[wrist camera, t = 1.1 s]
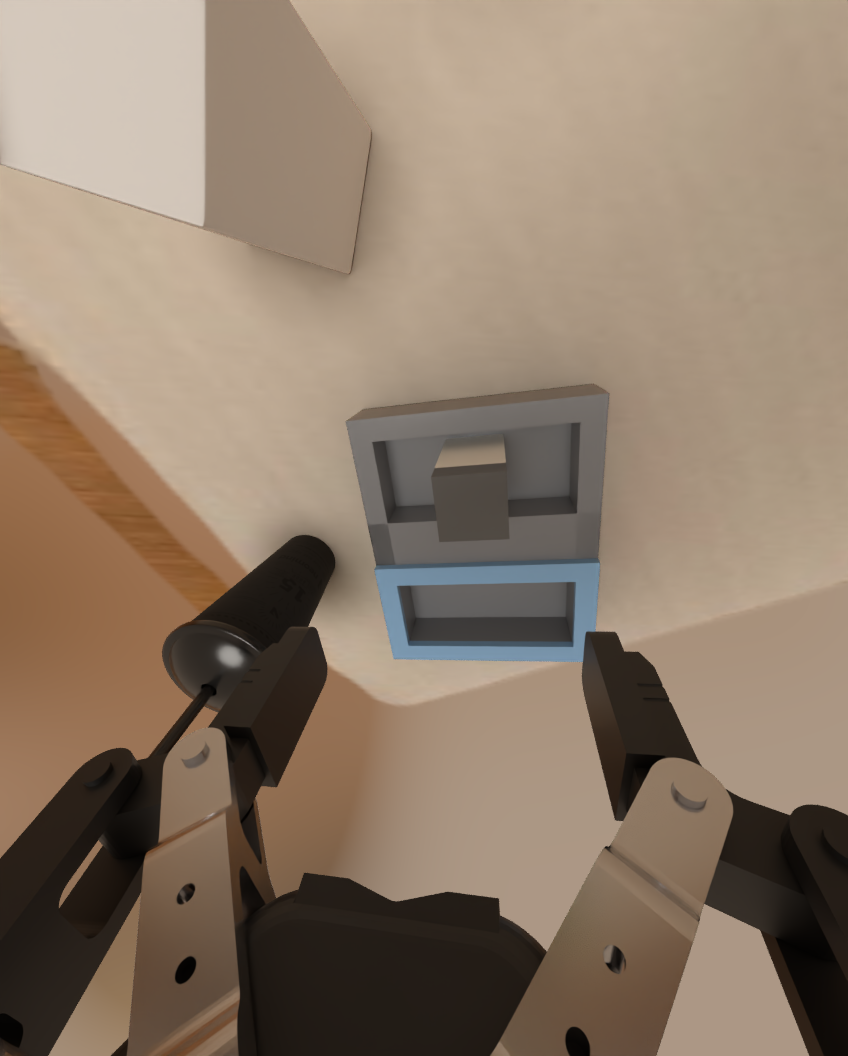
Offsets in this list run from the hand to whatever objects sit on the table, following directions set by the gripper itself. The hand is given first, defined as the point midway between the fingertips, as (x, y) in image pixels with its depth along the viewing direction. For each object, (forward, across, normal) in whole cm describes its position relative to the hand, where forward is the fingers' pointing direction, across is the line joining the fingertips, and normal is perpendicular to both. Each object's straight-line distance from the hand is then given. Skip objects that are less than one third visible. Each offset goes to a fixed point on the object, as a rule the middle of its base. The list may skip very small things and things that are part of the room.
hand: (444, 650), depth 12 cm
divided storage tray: (+20, 0, +6) cm, 21 cm away
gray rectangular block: (+19, 0, 0) cm, 19 cm away
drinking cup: (+21, +15, +9) cm, 27 cm away
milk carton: (+21, +9, -17) cm, 28 cm away
